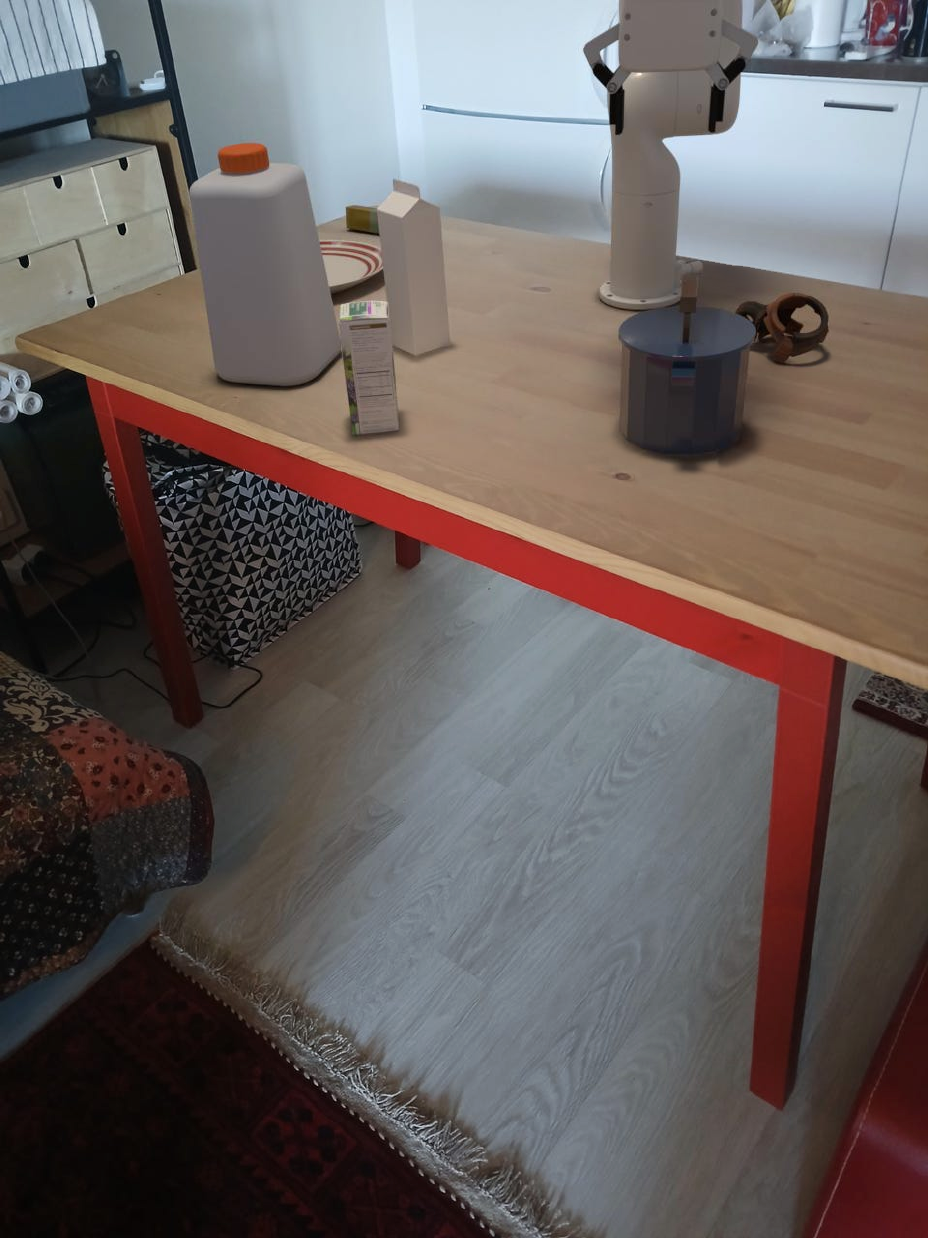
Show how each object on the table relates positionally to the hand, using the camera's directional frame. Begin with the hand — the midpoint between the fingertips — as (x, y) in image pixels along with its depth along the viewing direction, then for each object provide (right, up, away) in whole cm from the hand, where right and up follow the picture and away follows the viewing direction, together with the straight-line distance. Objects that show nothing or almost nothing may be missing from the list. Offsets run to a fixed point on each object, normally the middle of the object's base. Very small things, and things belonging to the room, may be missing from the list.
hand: (665, 130), depth 108 cm
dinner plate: (-47, +4, +61) cm, 77 cm away
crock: (+4, -30, +10) cm, 32 cm away
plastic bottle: (-47, -17, +33) cm, 60 cm away
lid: (+3, -21, +3) cm, 21 cm away
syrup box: (-32, -28, +16) cm, 46 cm away
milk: (-27, -14, +35) cm, 47 cm away
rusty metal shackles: (+20, -16, +27) cm, 37 cm away
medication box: (-38, +20, +81) cm, 92 cm away
